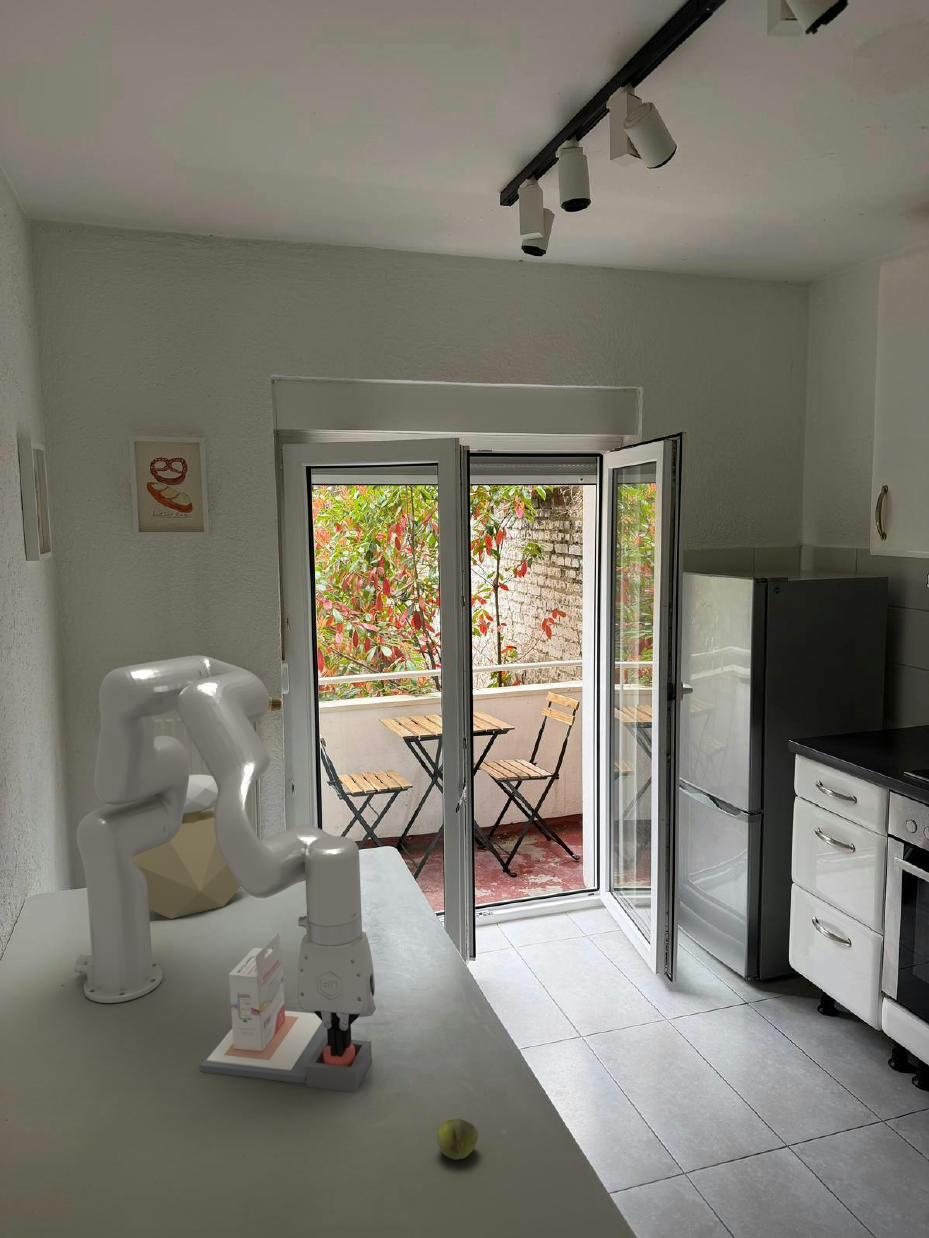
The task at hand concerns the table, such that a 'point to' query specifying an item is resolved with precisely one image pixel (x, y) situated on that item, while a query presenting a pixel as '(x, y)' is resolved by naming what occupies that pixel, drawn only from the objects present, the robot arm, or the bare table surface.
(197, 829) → the perfume bottle
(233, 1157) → the table surface
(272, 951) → the ink cartridge box
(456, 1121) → the lime
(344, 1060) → the button
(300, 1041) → the sketch board
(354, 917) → the robot arm
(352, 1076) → the button housing
